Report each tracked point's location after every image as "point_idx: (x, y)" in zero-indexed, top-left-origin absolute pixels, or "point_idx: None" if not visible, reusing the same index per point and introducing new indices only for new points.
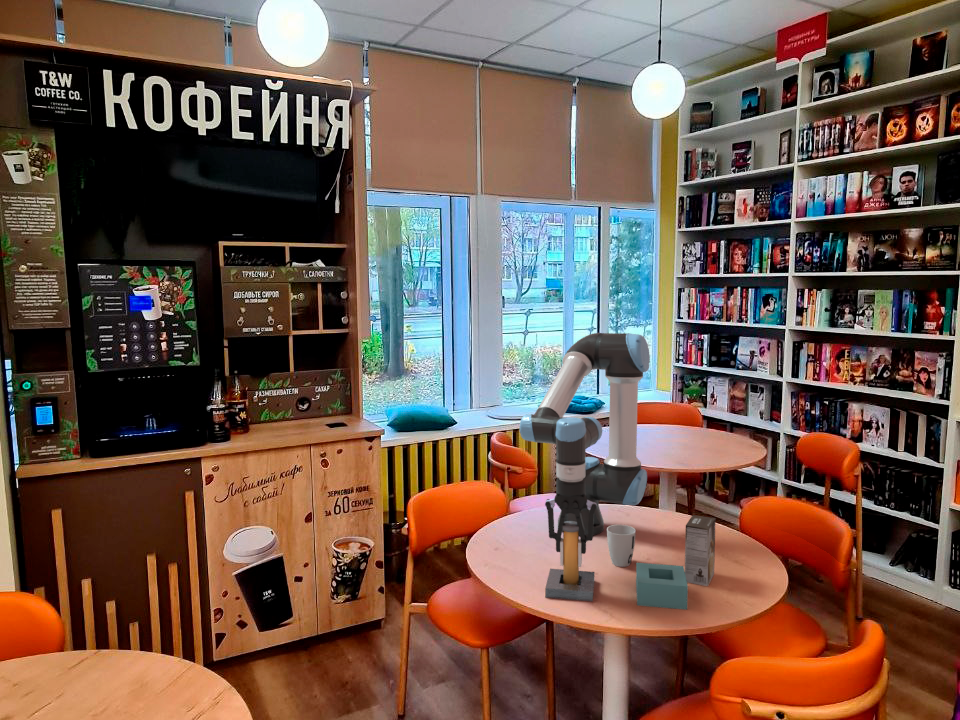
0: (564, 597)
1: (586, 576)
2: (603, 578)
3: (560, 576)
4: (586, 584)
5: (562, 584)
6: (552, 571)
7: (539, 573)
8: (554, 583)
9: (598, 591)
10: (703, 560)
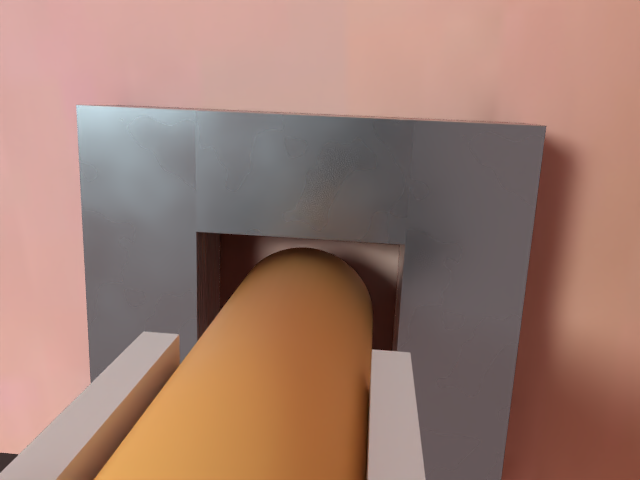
0: None
1: (451, 249)
2: (617, 54)
3: (196, 274)
4: (444, 416)
5: None
6: (108, 173)
7: (12, 34)
8: None
9: (539, 324)
10: None
